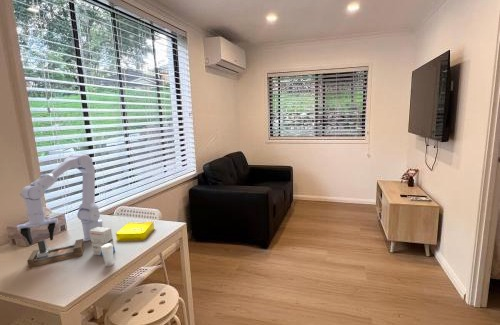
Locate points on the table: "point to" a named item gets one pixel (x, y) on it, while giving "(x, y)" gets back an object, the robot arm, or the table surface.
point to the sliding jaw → (43, 249)
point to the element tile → (135, 231)
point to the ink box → (100, 239)
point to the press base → (57, 254)
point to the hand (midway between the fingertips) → (41, 241)
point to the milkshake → (107, 254)
